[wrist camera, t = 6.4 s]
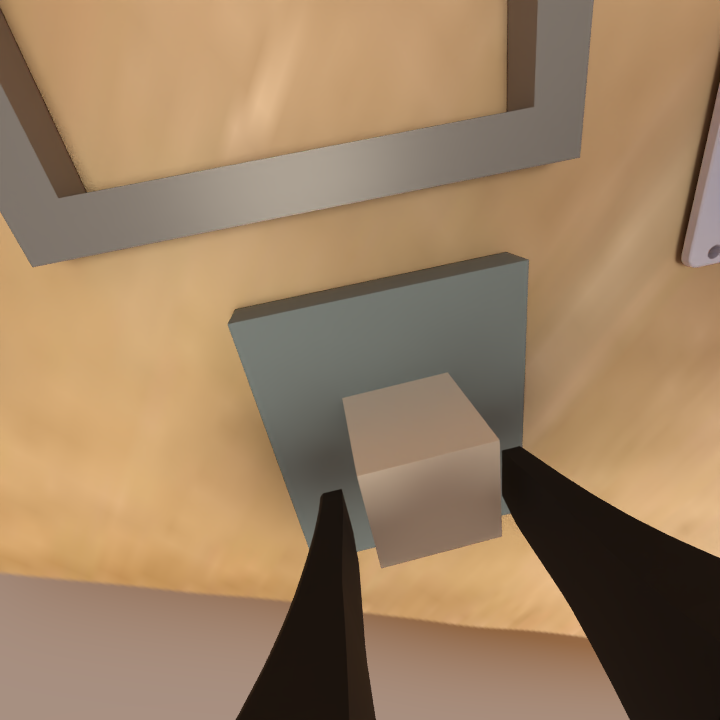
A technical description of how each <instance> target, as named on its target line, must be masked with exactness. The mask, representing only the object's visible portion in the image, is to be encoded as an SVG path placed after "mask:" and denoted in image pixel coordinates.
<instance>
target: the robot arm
mask: <svg viewBox="0 0 720 720" xmlns="http://www.w3.org/2000/svg"><path fill="white" fill-rule="evenodd" d="M709 250H710V251H709ZM708 252H709V253H708ZM681 261H682V263H683V264H684V265H686V266H689V267H702V266H706V265H711V264H715V263H720V84H719V88H718V93H717V97H716V102H715V106H714V111H713V115H712V120H711V125H710V129H709V134H708V138H707V143H706V147H705V152H704V156H703V161H702V165H701V170H700V174H699V179H698V183H697V188H696V192H695V197H694V201H693V206H692V210H691V215H690V219H689V224H688V228H687V233H686V237H685V242H684V246H683V251H682V256H681ZM502 497H503V499H504V501H505V503H506V505H507V507H508V509H509V511H510V513H511V515H512V517H513V518H514V520H515V522H516V524H517V526H518V527H519V529H520V531H521V532H522V534H523V535H524V537H525V538H526V540H527V541H528V543H529V544H530V546H531V547H532V549H533V550H534V552H535V553H536V555H537V556H538V558H539V559H540V561H541V562H542V564H543V565H544V567H545V568H546V570H547V571H548V573H549V574H550V576H551V577H552V579H553V580H554V582H555V583H556V585H557V586H558V588H559V589H560V591H561V592H562V594H563V596H564V597H565V599H566V601H567V602H568V604H569V605H570V607H571V609H572V611H573V612H574V614H575V616H576V618H577V620H578V621H579V623H580V625H581V627H582V629H583V631H584V632H585V634H586V636H587V638H588V640H589V641H590V643H591V645H592V647H593V649H594V651H595V652H596V655H597V657H598V658H599V660H600V662H601V664H602V666H603V668H604V670H605V672H606V674H607V675H608V677H609V679H610V681H611V683H612V685H613V687H614V689H615V691H616V693H617V695H618V697H619V699H620V701H621V703H622V705H623V707H624V709H625V711H626V713H627V715H628V717H629V718H630V720H720V558H719V557H716V556H714V555H712V554H709V553H707V552H705V551H702V550H700V549H698V548H696V547H693V546H691V545H689V544H687V543H684V542H682V541H680V540H678V539H676V538H674V537H671V536H669V535H667V534H665V533H663V532H661V531H659V530H657V529H655V528H653V527H651V526H649V525H647V524H645V523H643V522H641V521H639V520H637V519H635V518H634V517H632V516H630V515H628V514H626V513H624V512H622V511H621V510H619V509H617V508H615V507H614V506H612V505H610V504H608V503H607V502H605V501H603V500H602V499H600V498H598V497H597V496H595V495H593V494H592V493H590V492H588V491H587V490H585V489H584V488H582V487H580V486H579V485H577V484H576V483H574V482H573V481H571V480H569V479H568V478H566V477H565V476H563V475H562V474H560V473H559V472H557V471H556V470H554V469H553V468H551V467H550V466H548V465H547V464H545V463H544V462H543V461H541V460H540V459H538V458H537V457H535V456H534V455H532V454H531V453H529V452H528V451H526V450H525V449H523V448H522V447H520V446H518V447H514V448H510V449H505V450H502ZM236 720H376V718H375V711H374V705H373V699H372V692H371V685H370V679H369V672H368V666H367V658H366V649H365V638H364V624H363V611H362V598H361V585H360V572H359V562H358V556H357V550H356V544H355V538H354V533H353V529H352V525H351V521H350V518H349V514H348V510H347V506H346V503H345V499H344V495H343V492H342V489H339V490H335V491H331V492H326V493H323V494H322V495H321V497H320V505H319V511H318V516H317V521H316V526H315V530H314V534H313V538H312V542H311V545H310V549H309V553H308V556H307V560H306V563H305V566H304V569H303V572H302V575H301V578H300V581H299V584H298V587H297V590H296V593H295V595H294V598H293V601H292V603H291V606H290V609H289V611H288V614H287V616H286V618H285V621H284V623H283V626H282V628H281V630H280V632H279V635H278V637H277V639H276V641H275V643H274V646H273V648H272V650H271V652H270V655H269V657H268V659H267V661H266V663H265V665H264V667H263V669H262V671H261V673H260V675H259V677H258V679H257V681H256V683H255V684H254V686H253V689H252V690H251V692H250V694H249V696H248V698H247V700H246V702H245V703H244V706H243V707H242V709H241V711H240V713H239V715H238V717H237V718H236Z"/></svg>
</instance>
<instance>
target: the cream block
mask: <svg viewBox="0 0 720 720" xmlns="http://www.w3.org/2000/svg"><path fill="white" fill-rule="evenodd" d="M342 400H343V405H344V411H345V416H346V421H347V427H348V432H349V437H350V442H351V448H352V453H353V458H354V464H355V469H356V474H357V479H358V482H359V486H360V490H361V494H362V498H363V501H364V505H365V509H366V513H367V516H368V520H369V524H370V528H371V531H372V535H373V539H374V543H375V547H376V550H377V554H378V558H379V562H380V565H381V568H384V567H388V566H392V565H396V564H400V563H403V562H407V561H411V560H415V559H418V558H422V557H426V556H430V555H434V554H437V553H441V552H445V551H449V550H452V549H456V548H460V547H464V546H468V545H471V544H475V543H479V542H483V541H486V540H490V539H494V538H498V537H501V536H502V520H501V476H500V440H499V439H498V437H497V436H496V435H495V433H494V432H493V431H492V430H491V428H490V427H489V426H488V424H487V423H486V422H485V420H484V419H483V418H482V417H481V415H480V414H479V413H478V411H477V410H476V409H475V407H474V406H473V405H472V403H471V402H470V401H469V400H468V398H467V397H466V396H465V394H464V393H463V392H462V390H461V389H460V388H459V387H458V385H457V384H456V383H455V381H454V380H453V379H452V377H451V376H450V375H449V373H448V372H447V373H443V374H439V375H435V376H431V377H427V378H423V379H419V380H414V381H410V382H406V383H402V384H398V385H394V386H390V387H386V388H382V389H377V390H373V391H369V392H365V393H361V394H357V395H353V396H349V397H345V398H342Z"/></svg>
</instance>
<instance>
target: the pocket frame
mask: <svg viewBox="0 0 720 720" xmlns="http://www.w3.org/2000/svg"><path fill="white" fill-rule="evenodd" d="M593 2H594V0H508V86H507V112H505V113H500V114H495V115H490V116H484V117H479V118H474V119H469V120H464V121H458V122H453V123H448V124H443V125H438V126H432V127H427V128H422V129H417V130H412V131H406V132H401V133H396V134H391V135H386V136H380V137H375V138H370V139H365V140H360V141H354V142H349V143H344V144H339V145H333V146H328V147H323V148H318V149H313V150H307V151H302V152H297V153H292V154H287V155H281V156H276V157H271V158H266V159H261V160H255V161H250V162H245V163H240V164H235V165H229V166H224V167H219V168H214V169H209V170H203V171H198V172H193V173H188V174H183V175H177V176H172V177H167V178H162V179H156V180H151V181H146V182H141V183H136V184H130V185H125V186H120V187H115V188H110V189H104V190H99V191H94V192H89V193H86V191H85V189H84V187H83V185H82V182H81V180H80V178H79V176H78V174H77V172H76V170H75V167H74V165H73V163H72V161H71V159H70V157H69V155H68V153H67V150H66V148H65V146H64V144H63V142H62V140H61V138H60V136H59V133H58V131H57V129H56V127H55V125H54V123H53V121H52V118H51V116H50V114H49V112H48V110H47V108H46V106H45V104H44V101H43V99H42V97H41V95H40V93H39V91H38V89H37V87H36V84H35V82H34V80H33V78H32V76H31V74H30V72H29V69H28V67H27V65H26V63H25V61H24V59H23V57H22V55H21V52H20V50H19V48H18V46H17V44H16V42H15V40H14V38H13V35H12V33H11V31H10V29H9V27H8V25H7V23H6V21H5V18H4V16H3V14H2V12H1V10H0V212H1V214H2V216H3V217H4V219H5V221H6V222H7V224H8V226H9V228H10V229H11V231H12V233H13V234H14V236H15V238H16V240H17V241H18V243H19V245H20V247H21V248H22V250H23V252H24V253H25V255H26V257H27V259H28V260H29V262H30V264H31V266H32V267H36V266H41V265H46V264H51V263H56V262H61V261H66V260H71V259H76V258H81V257H86V256H91V255H96V254H101V253H106V252H111V251H116V250H121V249H126V248H131V247H136V246H141V245H146V244H151V243H156V242H161V241H166V240H171V239H176V238H181V237H186V236H191V235H196V234H201V233H206V232H211V231H216V230H221V229H226V228H231V227H236V226H241V225H246V224H251V223H256V222H261V221H266V220H271V219H276V218H281V217H286V216H291V215H296V214H301V213H306V212H311V211H316V210H321V209H326V208H331V207H336V206H340V205H345V204H350V203H355V202H360V201H365V200H370V199H375V198H380V197H385V196H390V195H395V194H400V193H405V192H410V191H415V190H420V189H425V188H430V187H435V186H440V185H445V184H450V183H455V182H460V181H465V180H470V179H475V178H480V177H485V176H490V175H495V174H500V173H505V172H510V171H515V170H520V169H525V168H530V167H535V166H540V165H545V164H550V163H555V162H560V161H565V160H570V159H575V158H580V151H581V140H582V129H583V117H584V106H585V94H586V83H587V71H588V60H589V48H590V37H591V25H592V14H593Z"/></svg>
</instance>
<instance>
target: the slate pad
mask: <svg viewBox="0 0 720 720" xmlns="http://www.w3.org/2000/svg"><path fill="white" fill-rule="evenodd" d="M528 268H529V260H528V259H525V258H522V257H519V256H516V255H513V254H510V253H507V252H504V253H500V254H495V255H490V256H485V257H481V258H476V259H471V260H466V261H462V262H457V263H452V264H448V265H443V266H438V267H433V268H429V269H424V270H419V271H415V272H410V273H405V274H400V275H396V276H391V277H386V278H382V279H377V280H372V281H367V282H363V283H358V284H353V285H349V286H344V287H339V288H334V289H330V290H325V291H320V292H316V293H311V294H306V295H301V296H297V297H292V298H287V299H283V300H278V301H273V302H268V303H264V304H259V305H254V306H250V307H245V308H240V309H235V311H234V313H233V315H232V317H231V319H230V321H229V322H228V327H229V330H230V332H231V335H232V338H233V341H234V343H235V346H236V349H237V352H238V354H239V357H240V360H241V363H242V365H243V368H244V371H245V374H246V376H247V379H248V382H249V385H250V387H251V390H252V393H253V396H254V398H255V401H256V404H257V407H258V409H259V412H260V415H261V418H262V420H263V423H264V426H265V429H266V431H267V434H268V437H269V440H270V442H271V445H272V448H273V451H274V453H275V456H276V459H277V462H278V464H279V467H280V470H281V473H282V475H283V478H284V481H285V484H286V486H287V489H288V492H289V495H290V497H291V500H292V503H293V506H294V508H295V511H296V514H297V517H298V519H299V522H300V525H301V528H302V530H303V533H304V536H305V539H306V541H307V544H308V547H309V549H310V545H311V542H312V538H313V534H314V530H315V526H316V521H317V516H318V511H319V505H320V497H321V495H322V494H323V493H326V492H331V491H335V490H339V489H342V492H343V495H344V499H345V503H346V506H347V510H348V514H349V518H350V521H351V525H352V529H353V533H354V538H355V544H356V550H357V552H358V551H362V550H366V549H370V548H374V547H375V543H374V539H373V535H372V531H371V528H370V524H369V520H368V516H367V513H366V509H365V505H364V501H363V498H362V494H361V490H360V486H359V482H358V479H357V474H356V469H355V464H354V458H353V453H352V448H351V442H350V437H349V432H348V427H347V421H346V416H345V411H344V405H343V400H342V398H345V397H349V396H353V395H357V394H361V393H365V392H369V391H373V390H377V389H382V388H386V387H390V386H394V385H398V384H402V383H406V382H410V381H414V380H419V379H423V378H427V377H431V376H435V375H439V374H443V373H447V372H448V373H449V375H450V376H451V377H452V379H453V380H454V381H455V383H456V384H457V385H458V387H459V388H460V389H461V390H462V392H463V393H464V394H465V396H466V397H467V398H468V400H469V401H470V402H471V403H472V405H473V406H474V407H475V409H476V410H477V411H478V413H479V414H480V415H481V417H482V418H483V419H484V420H485V422H486V423H487V424H488V426H489V427H490V428H491V430H492V431H493V432H494V433H495V435H496V436H497V437H498V439H499V440H500V476H501V516H502V515H506V514H510V511H509V509H508V507H507V505H506V503H505V501H504V499H503V497H502V450H505V449H510V448H514V447H518V446H520V447H522V438H523V410H524V382H525V353H526V325H527V297H528Z"/></svg>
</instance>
